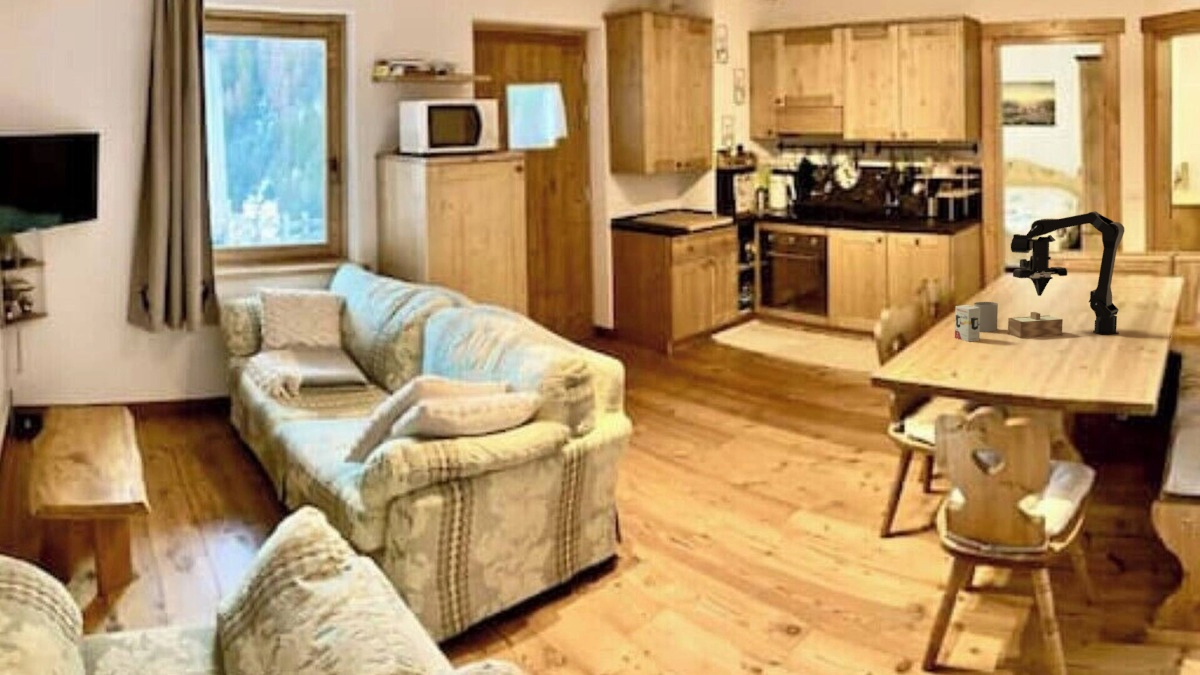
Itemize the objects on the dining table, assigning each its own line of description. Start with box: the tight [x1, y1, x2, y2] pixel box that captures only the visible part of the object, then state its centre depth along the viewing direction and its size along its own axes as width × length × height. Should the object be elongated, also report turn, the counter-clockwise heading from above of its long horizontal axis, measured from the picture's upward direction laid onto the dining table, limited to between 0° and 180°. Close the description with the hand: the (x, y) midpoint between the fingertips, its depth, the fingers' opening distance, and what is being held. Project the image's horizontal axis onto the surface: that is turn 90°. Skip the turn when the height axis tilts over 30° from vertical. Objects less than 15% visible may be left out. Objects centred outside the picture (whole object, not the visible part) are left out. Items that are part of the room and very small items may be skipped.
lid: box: [1011, 311, 1060, 322], centre depth 433 cm, size 15×8×3 cm, turn 99°
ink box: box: [954, 304, 981, 342], centre depth 429 cm, size 9×5×12 cm, turn 17°
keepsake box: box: [1007, 314, 1063, 339], centre depth 434 cm, size 16×9×6 cm, turn 99°
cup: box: [973, 301, 999, 333], centre depth 445 cm, size 8×8×10 cm
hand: (1039, 295), depth 445 cm, fingers closed
